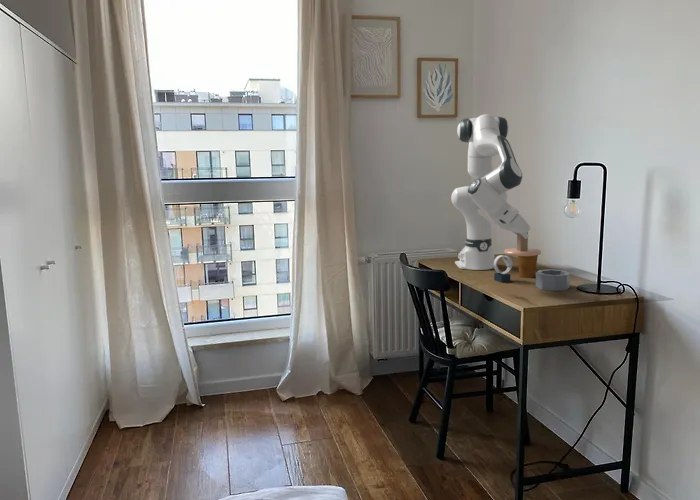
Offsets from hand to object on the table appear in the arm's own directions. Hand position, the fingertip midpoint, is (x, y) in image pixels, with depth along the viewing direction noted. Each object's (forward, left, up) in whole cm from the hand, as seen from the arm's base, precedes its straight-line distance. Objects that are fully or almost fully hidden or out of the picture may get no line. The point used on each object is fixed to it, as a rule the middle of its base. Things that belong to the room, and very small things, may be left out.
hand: (523, 236), depth 222 cm
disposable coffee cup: (-22, +13, -21) cm, 34 cm away
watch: (-17, -1, -21) cm, 28 cm away
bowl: (0, +13, -21) cm, 25 cm away
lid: (0, -1, -6) cm, 6 cm away
